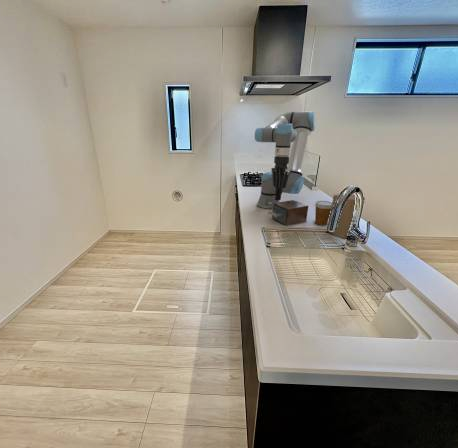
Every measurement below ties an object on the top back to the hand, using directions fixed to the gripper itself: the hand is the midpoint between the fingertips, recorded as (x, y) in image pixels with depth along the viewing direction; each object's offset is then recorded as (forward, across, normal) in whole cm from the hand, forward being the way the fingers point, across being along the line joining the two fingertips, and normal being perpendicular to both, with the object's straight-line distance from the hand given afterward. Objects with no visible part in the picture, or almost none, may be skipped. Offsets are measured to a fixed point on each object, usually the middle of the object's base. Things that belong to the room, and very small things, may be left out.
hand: (277, 199), depth 132 cm
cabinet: (+14, 0, +10) cm, 17 cm away
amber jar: (+14, +12, +23) cm, 29 cm away
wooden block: (+14, +27, +21) cm, 37 cm away
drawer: (+13, 0, +6) cm, 14 cm away
